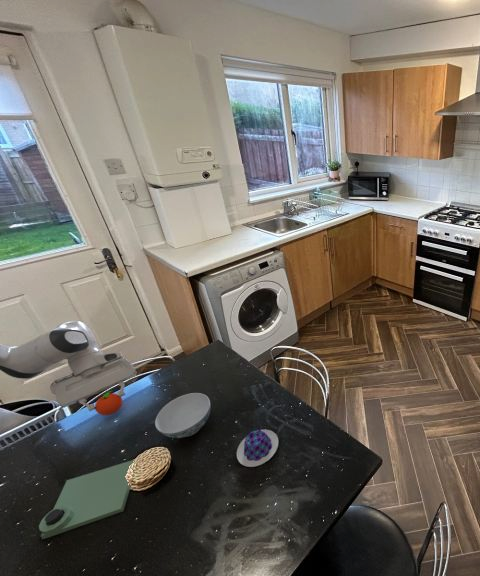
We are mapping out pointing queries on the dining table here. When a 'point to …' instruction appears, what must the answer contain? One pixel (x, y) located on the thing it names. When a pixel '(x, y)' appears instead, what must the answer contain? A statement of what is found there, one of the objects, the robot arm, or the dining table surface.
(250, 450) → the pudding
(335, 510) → the dining table surface
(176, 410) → the chinaware
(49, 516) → the button
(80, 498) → the scale
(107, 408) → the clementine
